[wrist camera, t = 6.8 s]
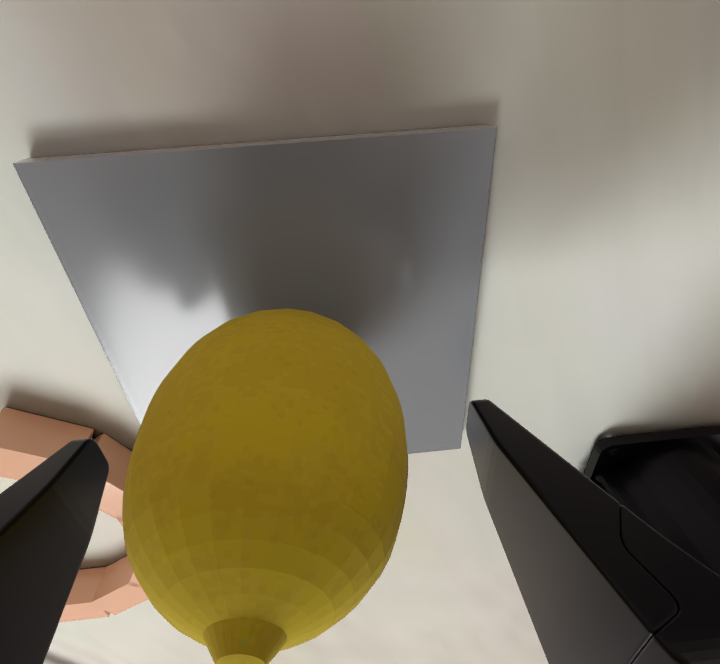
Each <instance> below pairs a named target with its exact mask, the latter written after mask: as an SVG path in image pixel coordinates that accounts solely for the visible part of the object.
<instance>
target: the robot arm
mask: <svg viewBox="0 0 720 664" xmlns="http://www.w3.org/2000/svg"><path fill="white" fill-rule="evenodd" d="M466 430H467V436H468V440H469V444H470V448H471V452H472V455H473V459H474V463H475V467H476V470H477V474H478V478H479V482H480V485H481V489H482V493H483V496H484V499H485V502H486V505H487V507H488V510H489V512H490V515H491V517H492V520H493V523H494V525H495V528H496V530H497V533H498V535H499V538H500V540H501V543H502V546H503V548H504V551H505V553H506V556H507V558H508V561H509V563H510V566H511V569H512V571H513V574H514V576H515V579H516V581H517V584H518V586H519V589H520V591H521V594H522V597H523V599H524V602H525V604H526V607H527V609H528V612H529V614H530V617H531V620H532V622H533V625H534V627H535V630H536V632H537V635H538V637H539V640H540V643H541V645H542V648H543V650H544V653H545V655H546V658H547V660H548V663H549V664H720V426H714V427H704V428H695V429H685V430H676V431H666V432H656V433H647V434H637V435H628V436H618V437H609V438H605V439H602V440H600V441H599V442H598V443H597V444H596V445H595V446H594V449H593V451H592V454H591V457H590V459H589V462H588V465H587V467H586V470H585V473H584V474H582V473H581V472H580V471H579V470H577V469H576V468H575V467H573V466H572V465H571V464H570V463H568V462H567V461H566V460H565V459H563V458H562V457H561V456H560V455H558V454H557V453H556V452H554V451H553V450H552V449H551V448H549V447H548V446H547V445H546V444H544V443H543V442H542V441H540V440H539V439H538V438H537V437H535V436H534V435H533V434H532V433H530V432H529V431H528V430H526V429H525V428H524V427H523V426H521V425H520V424H519V423H518V422H516V421H515V420H514V419H512V418H511V417H510V416H509V415H507V414H506V413H505V412H504V411H502V410H501V409H500V408H498V407H497V406H496V405H495V404H493V403H492V402H491V401H489V400H486V399H484V400H474V401H471V402H470V404H469V408H468V417H467V425H466ZM108 473H109V464H108V461H107V459H106V457H105V455H104V454H103V452H102V450H101V449H100V447H99V445H98V443H97V442H96V441H95V440H94V439H92V438H86V439H76V440H72V441H70V442H69V443H67V444H66V445H65V446H63V447H62V448H61V449H59V450H58V451H57V452H55V453H54V454H53V455H51V456H50V457H49V458H47V459H46V460H45V461H43V462H42V463H41V464H39V465H38V466H37V467H35V468H34V469H33V470H31V471H30V472H29V473H27V474H26V475H25V476H23V477H22V478H21V479H19V480H18V481H17V482H15V483H14V484H13V485H11V486H10V487H9V488H7V489H6V490H5V491H3V492H2V493H1V494H0V664H43V662H44V660H45V657H46V655H47V652H48V649H49V647H50V644H51V642H52V639H53V636H54V634H55V631H56V629H57V626H58V623H59V621H60V618H61V616H62V613H63V610H64V608H65V605H66V602H67V600H68V597H69V595H70V592H71V589H72V587H73V584H74V582H75V579H76V576H77V574H78V571H79V569H80V566H81V563H82V561H83V558H84V556H85V553H86V550H87V547H88V545H89V542H90V539H91V536H92V533H93V529H94V526H95V522H96V518H97V515H98V511H99V507H100V503H101V500H102V496H103V492H104V488H105V485H106V481H107V477H108Z"/></svg>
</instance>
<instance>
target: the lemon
mask: <svg viewBox="0 0 720 664" xmlns="http://www.w3.org/2000/svg"><path fill="white" fill-rule="evenodd" d="M407 478H408V452H407V442H406V433H405V424H404V417H403V412H402V407H401V404H400V401H399V398H398V395H397V393H396V391H395V389H394V386H393V384H392V382H391V380H390V378H389V376H388V374H387V372H386V369H385V367H384V365H383V364H382V362H381V361H380V359H379V358H378V357H377V356H376V354H375V353H374V352H373V351H372V350H371V349H370V348H369V347H368V346H367V344H366V343H365V342H364V341H363V340H362V339H361V338H360V337H359V336H358V335H357V334H355V333H354V332H352V331H351V330H349V329H348V328H346V327H345V326H343V325H342V324H340V323H339V322H337V321H335V320H332V319H330V318H327V317H324V316H322V315H319V314H316V313H314V312H310V311H303V310H296V309H289V308H285V309H272V310H260V311H256V312H252V313H249V314H246V315H243V316H240V317H237V318H234V319H231V320H229V321H227V322H225V323H224V324H222V325H220V326H219V327H217V328H216V329H214V330H213V331H211V332H210V333H208V334H206V335H205V336H203V337H202V338H201V339H199V340H198V341H197V342H195V343H194V344H193V345H192V346H191V347H190V348H189V349H188V350H187V352H186V353H185V354H184V355H183V356H182V358H181V359H180V360H179V361H178V362H177V364H176V365H175V366H174V367H173V368H172V369H171V371H170V372H169V373H168V374H167V376H166V377H165V378H164V379H163V381H162V382H161V384H160V385H159V387H158V389H157V390H156V392H155V393H154V395H153V397H152V399H151V401H150V403H149V405H148V408H147V411H146V413H145V416H144V418H143V421H142V424H141V426H140V429H139V432H138V435H137V438H136V440H135V443H134V446H133V450H132V453H131V456H130V460H129V464H128V468H127V473H126V477H125V484H124V491H123V504H122V520H123V530H124V540H125V545H126V551H127V557H128V560H129V562H130V565H131V567H132V570H133V572H134V575H135V577H136V579H137V580H138V582H139V584H140V586H141V587H142V589H143V591H144V592H145V594H146V596H147V597H148V599H149V600H150V602H151V603H152V605H153V606H154V608H155V609H156V610H157V611H158V612H159V613H160V614H161V615H162V616H163V617H164V618H165V619H166V620H167V621H168V622H169V623H170V624H171V625H172V626H173V627H175V628H176V629H177V630H178V631H180V632H181V633H183V634H185V635H186V636H188V637H190V638H192V639H193V640H195V641H197V642H199V643H201V644H202V645H205V646H207V647H208V650H209V652H210V654H211V656H212V658H213V661H214V663H215V664H269V662H270V661H271V660H272V659H273V658H274V657H275V655H276V654H277V653H278V652H279V651H281V650H285V649H289V648H291V647H294V646H297V645H299V644H302V643H304V642H306V641H309V640H311V639H313V638H316V637H317V636H319V635H320V634H322V633H323V632H324V631H326V630H327V629H329V628H330V627H332V626H333V625H335V624H336V623H337V622H339V621H340V620H341V619H343V618H344V617H345V616H346V615H347V614H348V613H349V612H351V611H352V610H353V609H354V608H355V607H356V606H357V605H358V604H359V603H360V601H361V600H362V599H363V597H364V596H365V595H366V594H367V592H368V591H369V590H370V588H371V587H372V586H373V584H374V583H375V582H376V581H377V579H378V578H379V577H380V575H381V573H382V572H383V570H384V568H385V566H386V564H387V562H388V560H389V558H390V555H391V552H392V549H393V546H394V544H395V541H396V537H397V533H398V529H399V526H400V522H401V518H402V513H403V508H404V504H405V497H406V490H407Z"/></svg>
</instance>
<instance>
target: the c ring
mask: <svg viewBox="0 0 720 664" xmlns="http://www.w3.org/2000/svg"><path fill="white" fill-rule="evenodd" d="M93 431H94V429H92V428H88V427H84V426H80V425H76V424H72V423H68V422H64V421H59V420H55V419H51V418H47V417H43V416H39V415H35V414H31V413H27V412H23V411H19V410H15V409H10V408H6V407H5V408H4V409H3V410H2V411H1V412H0V477H5V478H10V479H15V480H19V479H21V478H22V477H23V476H25V475H26V474H27V473H29V472H30V471H31V470H33V469H34V468H35V467H37V466H38V465H39V464H41V463H42V462H43V461H45V460H46V459H47V458H49V457H50V456H51V455H53V454H54V453H55V452H57V451H58V450H59V449H61V448H62V447H63V446H65V445H66V444H67V443H69V442H70V441H72V440H76V439H86V438H92V436H93ZM94 440H95V441H96V442H97V443H98V445H99V447H100V449H101V450H102V452H103V454H104V455H105V457H106V459H107V461H108V464H109V473H108V477H107V481H106V485H105V488H104V492H103V496H102V500H101V503H100V507H99V510H101V511H103V512H105V513H107V514H108V515H110V516H112V517H114V518H116V519H118V520H119V522H120V523H121V525H122V526H123V520H122V504H123V491H124V484H125V477H126V473H127V468H128V464H129V460H130V456H131V453H132V451H130V450H129V449H127V448H126V447H124V446H123V445H121V444H120V443H118V442H117V441H115V440H114V439H112V438H111V437H109V436H108V435H106V434H104V433H103V434H102V435H100V436H99V437H97V438H95V439H94ZM147 599H148V597H147V596H146V594H145V592H144V591H143V589H142V587H141V586H140V584H139V582H138V580H137V579H136V577H135V575H134V572H133V570H132V567H131V565H130V562H129V560H128V557H127V556H126V557H124V558H122V559H120V560H118V561H116V562H114V563H113V564H111V565H109V566H107V567H99V568H90V569H81V570H79V571H78V574H77V576H76V579H75V582H74V584H73V587H72V589H71V592H70V595H69V597H68V600H67V602H66V605H65V608H64V610H63V613H62V616H61V618H60V621H59V622H66V621H75V620H84V619H92V618H101V617H109V615H110V613H112V614H115V615H116V614H118V613H120V612H122V611H125V610H127V609H129V608H131V607H133V606H135V605H137V604H139V603H141V602H143V601H145V600H147Z"/></svg>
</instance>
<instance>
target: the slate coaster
mask: <svg viewBox="0 0 720 664" xmlns="http://www.w3.org/2000/svg"><path fill="white" fill-rule="evenodd" d="M496 131H497V128H496V127H494V126H491V125H474V126H461V127H447V128H434V129H420V130H406V131H393V132H379V133H366V134H352V135H339V136H325V137H311V138H298V139H284V140H271V141H257V142H244V143H230V144H216V145H203V146H189V147H176V148H162V149H149V150H135V151H122V152H108V153H94V154H81V155H67V156H54V157H40V158H28V159H25V160H22V161H19V162H16V163H13V165H14V167H15V169H16V171H17V173H18V175H19V177H20V179H21V181H22V183H23V185H24V187H25V190H26V192H27V194H28V196H29V198H30V200H31V202H32V204H33V206H34V208H35V210H36V212H37V214H38V216H39V218H40V220H41V222H42V224H43V226H44V229H45V231H46V233H47V235H48V237H49V239H50V241H51V243H52V245H53V247H54V249H55V251H56V253H57V255H58V257H59V259H60V261H61V263H62V265H63V268H64V270H65V272H66V274H67V276H68V278H69V280H70V282H71V284H72V286H73V288H74V290H75V292H76V294H77V296H78V298H79V300H80V302H81V304H82V307H83V309H84V311H85V313H86V315H87V317H88V319H89V321H90V323H91V325H92V327H93V329H94V331H95V333H96V335H97V337H98V339H99V341H100V343H101V346H102V348H103V350H104V352H105V354H106V356H107V358H108V360H109V362H110V364H111V366H112V368H113V370H114V372H115V374H116V376H117V378H118V380H119V383H120V385H121V387H122V389H123V391H124V393H125V395H126V397H127V399H128V401H129V403H130V405H131V407H132V409H133V411H134V413H135V415H136V417H137V419H138V422H139V424H140V426H141V424H142V421H143V418H144V416H145V413H146V411H147V408H148V405H149V403H150V401H151V399H152V397H153V395H154V393H155V392H156V390H157V389H158V387H159V385H160V384H161V382H162V381H163V379H164V378H165V377H166V376H167V374H168V373H169V372H170V371H171V369H172V368H173V367H174V366H175V365H176V364H177V362H178V361H179V360H180V359H181V358H182V356H183V355H184V354H185V353H186V352H187V350H188V349H189V348H190V347H191V346H192V345H193V344H194V343H195V342H197V341H198V340H199V339H201V338H202V337H203V336H205V335H206V334H208V333H210V332H211V331H213V330H214V329H216V328H217V327H219V326H220V325H222V324H224V323H225V322H227V321H229V320H231V319H234V318H237V317H240V316H243V315H246V314H249V313H252V312H256V311H260V310H272V309H285V308H289V309H296V310H303V311H310V312H314V313H316V314H319V315H322V316H324V317H327V318H330V319H332V320H335V321H337V322H339V323H340V324H342V325H343V326H345V327H346V328H348V329H349V330H351V331H352V332H354V333H355V334H357V335H358V336H359V337H360V338H361V339H362V340H363V341H364V342H365V343H366V344H367V346H368V347H369V348H370V349H371V350H372V351H373V352H374V353H375V354H376V356H377V357H378V358H379V359H380V361H381V362H382V364H383V365H384V367H385V369H386V372H387V374H388V376H389V378H390V380H391V382H392V384H393V386H394V389H395V391H396V393H397V395H398V398H399V401H400V404H401V407H402V412H403V417H404V424H405V433H406V442H407V452H408V454H411V453H421V452H430V451H440V450H449V449H459V448H461V440H462V431H463V422H464V413H465V404H466V395H467V387H468V378H469V369H470V360H471V351H472V343H473V334H474V325H475V316H476V307H477V298H478V290H479V281H480V272H481V263H482V254H483V246H484V237H485V228H486V219H487V210H488V202H489V193H490V184H491V175H492V166H493V157H494V149H495V140H496Z"/></svg>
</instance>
